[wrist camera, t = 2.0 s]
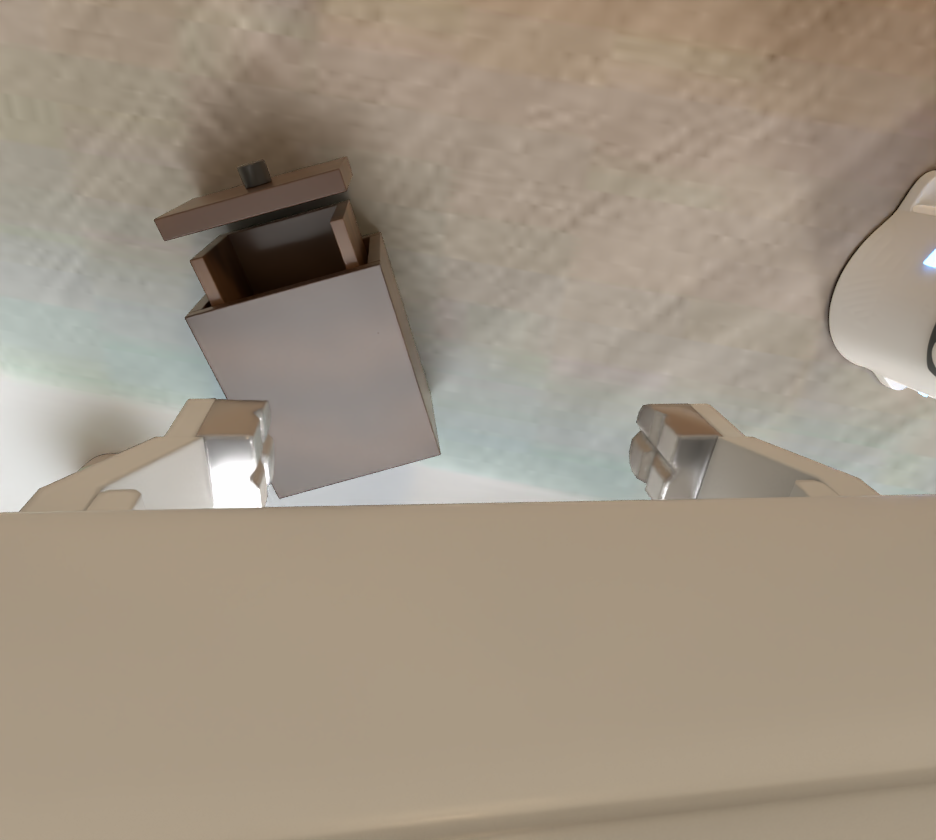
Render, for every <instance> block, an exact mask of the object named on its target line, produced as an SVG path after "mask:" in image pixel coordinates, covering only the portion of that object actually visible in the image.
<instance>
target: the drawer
mask: <svg viewBox="0 0 936 840" xmlns="http://www.w3.org/2000/svg"><path fill="white" fill-rule="evenodd" d="M237 169H238V171H239V174H240V176H241V179H242V181H243V184H244V185H241V186H237V187H234V188H230V189H226V190H223V191H219V192H215V193H212V194H208V195H205V196H201V197H197V198H194V199H191V200H190V201H188V202H186V203H184V204H182V205H180V206H178V207H176V208H175V209H173V210H171V211H169V212H167V213H165V214H163V215H161V216H159V217H158V218H156V219H154V221H155V223H156V225H157V227H158V229H159V231H160V233H161V235H162V237H163V239H164V241H168V240H171V239H175V238H179V237H182V236H186V235H190V234H193V233H197V232H200V231H204V230H208V229H211V228H215V227H219V226H222V225H226V224H229V223H233V222H237V221H240V220H244V219H248V218H251V217H255V216H258V215H262V214H266V213H269V212H273V211H277V210H280V209H284V208H287V207H291V206H295V205H298V204H302V203H306V202H309V201H313V200H317V199H320V198H324V197H327V196H331V195H335V194H338V193H342V192H346V191H347V189H348V186H349V183H350V181H351V178H352V176H353V174H352V171H351V167H350V164H349V161H348V158H347V157H342V158H339V159H335V160H331V161H328V162H324V163H320V164H317V165H313V166H310V167H306V168H302V169H299V170H295V171H291V172H288V173H284V174H281V175H277V176H273V177H270V174H269V172H268V169H267V166H266V164H265V161H264V160H259V161H255V162H252V163H248V164H245V165H242V166H239V167H237ZM190 263H191V265H192V267H193V269H194V271H195V273H196V275H197V277H198V279H199V281H200V283H201V285H202V287H203V289H204V291H205V293H206V295H207V297H208V299H209V301H210V303H211V305H212V307H213V306H216V305H220V304H224V303H227V302H231V301H235V300H238V299H242V298H246V297H249V296H253V295H256V294H260V293H264V292H267V291H271V290H275V289H278V288H282V287H285V286H289V285H293V284H296V283H300V282H304V281H307V280H311V279H315V278H318V277H322V276H325V275H329V274H333V273H336V272H340V271H344V270H347V269H351V268H355V267H358V266H362V265H365V264H368V256H367V252H366V249H365V246H364V243H363V240H362V237H361V234H360V231H359V228H358V225H357V222H356V219H355V216H354V213H353V210H352V207H351V203H350V201H349V200H346V201H342V202H339V203H335V204H331V205H328V206H324V207H321V208H317V209H313V210H310V211H306V212H302V213H299V214H295V215H292V216H288V217H284V218H281V219H277V220H273V221H270V222H266V223H263V224H259V225H255V226H252V227H248V228H244V229H241V230H237V231H234V232H230V233H226V234H223V235H220V236H218V237H217V238H216V239H215V240H214V241H212V242H211V243H210V244H209V245H208V246H207V247H205V248H204V249H203V250H202V251H201V252H199V253H198V254H197V255H196V256H195V257H193V258H192V259H191V260H190Z"/></svg>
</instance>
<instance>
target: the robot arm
mask: <svg viewBox="0 0 936 840" xmlns="http://www.w3.org/2000/svg"><path fill="white" fill-rule="evenodd" d="M829 328H830V334H831V337H832V340H833V343H834V345H835V347H836V348H837V350H838V351H839V352H840V354H841V355H842V356H843V357H845V358H846V359H847V360H848V361H850V362H852V363H854V364H856V365H859V366H862V367H865V368H867V369H870V370H871V371H873V372H874V374H875V375H876V377H877V378H878V379H879V381H880V382H881V383H882V384H883V385H885V386H887V387H889V388H892V389H894V390H902V389H905V388H907V387H909V388H911V389H913V390H916V391H918V392H919V393H920V394H922V395H923V396H925V397H926V396H930V397H932V398H935V399H936V170H934V171H930V172H927V173H926V174H924V175H923V176H922V177H920V178H919V180H918V181H917V182H916V183H915V184H914V185H913V187H912V188H911V190H910V191H909V193H908V194H907V196H906V197H905V199H904V200H903V202H902V203H901V205H900V206H899V208H898V210H897V211H896V212H895V213H894V214H893V215H892V216H891V217H890V218H889V219H888V220H887V221H886V222H885V223H883V224H882V225H881V226H880V227H879V228H878V229H877V230H876V231H874V232H873V233H872V234H871V235H870V236H869V237H868V238H867V239H866V240H865V241H864V243H863V244H862V245H861V246H860V247H859V248H858V250H857V251H856V252H855V254H854V255H853V256H852V258H851V259H850V261H849V262H848V264H847V265H846V267H845V269H844V270H843V272H842V274H841V276H840V278H839V280H838V282H837V285H836V287H835V290H834V293H833V296H832V300H831V305H830V311H829ZM271 422H272V416H271V408H270V404H269V401H268V400H230V399H215V398H211V399H188V400H187V401H186V403H185V405H184V406H183V408H182V409H181V411H180V412H179V414H178V415H177V417H176V419H175V420H174V422H173V423H172V425H171V426H170V428H169V430H168V431H167V433H166V434H165V436H164V437H154V438H152V439H150V440H147V441H145V442H143V443H141V444H138V445H136V446H134V447H132V448H129V449H127V450H125V451H123V452H121V453H118V454H116V455H114V456H112V457H109V458H107V459H105V460H103V461H100V462H98V463H96V464H94V465H91V466H89V467H87V468H85V469H82V470H80V471H78V472H76V473H74V474H71V475H69V476H67V477H65V478H62V479H60V480H58V481H56V482H53V483H51V484H49V485H47V486H44V487H42V488H40V489H39V490H38V491H37V492H36V493H35V494H34V495H33V496H32V498H31V499H30V500H29V501H28V502H27V503H26V504H25V506H24V507H23V508H22V509H21V510H20V511H19V512H1V513H0V840H936V494H922V495H880V494H879V493H877V492H876V491H875V490H873V489H872V488H871V487H870V486H868V485H867V484H866V483H864V482H863V481H862V480H861V479H859V478H857V477H854V476H852V475H849V474H847V473H844V472H842V471H839V470H836V469H834V468H831V467H829V466H826V465H824V464H821V463H818V462H816V461H813V460H811V459H808V458H806V457H803V456H800V455H798V454H795V453H793V452H790V451H788V450H785V449H782V448H780V447H777V446H775V445H772V444H770V443H767V442H764V441H762V440H759V439H757V438H754V437H746V436H745V435H744V434H742V433H741V432H740V431H739V430H738V429H737V428H736V427H735V426H733V425H732V424H731V423H730V422H729V421H728V420H727V419H726V418H724V417H723V416H722V415H721V414H720V413H719V412H718V411H717V410H715V409H714V408H713V407H712V406H711V405H709V404H648V405H643V406H642V408H641V410H640V411H639V414H638V417H637V421H636V423H637V425H638V427H639V429H640V432H639V433H638V434H637V435H636V436H635V437H634V438H633V439H632V441H631V445H630V450H629V461H630V466H631V469H632V472H633V473H634V475H635V476H636V478H637V479H639V480H641V481H643V482H644V483H646V487H645V491H646V492H647V494H648V495H649V497H650V498H651V499H652V500H618V501H566V502H513V503H460V504H407V505H354V506H302V507H265V504H266V501H267V497H268V493H267V485H269V484H270V483H271V482H272V478H273V474H274V464H275V449H274V439H273V438H272V437H271V436H270V435H269V434H268V432H269V429H270V425H271Z"/></svg>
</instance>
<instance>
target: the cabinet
mask: <svg viewBox="0 0 936 840" xmlns="http://www.w3.org/2000/svg"><path fill="white" fill-rule="evenodd" d="M362 240H363V243H364V246H365V249H366V252H367V256H368V264H365V265H362V266H358V267H355V268H351V269H347V270H344V271H340V272H336V273H333V274H329V275H325V276H322V277H318V278H315V279H311V280H307V281H304V282H300V283H296V284H293V285H289V286H285V287H282V288H278V289H275V290H271V291H267V292H264V293H260V294H256V295H253V296H249V297H246V298H242V299H238V300H235V301H231V302H227V303H224V304H220V305H216V306H213V307H212V305H211V303H210V301H209V299H208V297H207V295H206V294H205V295H204V297H203V298H202V299H201V300H200V301H199V302H198V303H197V304H196V305H195V307H194V308H193V309H192V310H191V311H190V312H189V313H188V314H187V316H186V317H185V320H186V321H187V323H188V325H189V327H190V329H191V331H192V333H193V335H194V337H195V339H196V341H197V342H198V344H199V346H200V348H201V350H202V352H203V354H204V356H205V358H206V360H207V362H208V364H209V365H210V367H211V369H212V371H213V373H214V375H215V377H216V379H217V381H218V383H219V385H220V386H221V388H222V390H223V392H224V394H225V396H226V398H227V399H230V400H268V401H269V404H270V408H271V416H272V422H271V425H270V429H269V432H268V434H269V435H270V436H271V437H272V438H273V439H274V449H275V464H274V474H273V478H272V482H271V484H272V486H273V488H274V490H275V492H276V494H277V496H278V497H279V499H281V498H284V497H288V496H292V495H295V494H299V493H302V492H306V491H310V490H313V489H317V488H321V487H324V486H328V485H332V484H335V483H339V482H343V481H346V480H350V479H354V478H357V477H361V476H365V475H368V474H372V473H376V472H379V471H383V470H387V469H390V468H394V467H398V466H401V465H405V464H408V463H412V462H416V461H419V460H423V459H427V458H430V457H434V456H438V455H440V454H441V453H440V446H439V440H438V434H437V428H436V422H435V416H434V410H433V404H432V398H431V393H430V390H429V387H428V383H427V380H426V377H425V374H424V370H423V367H422V364H421V361H420V357H419V354H418V351H417V348H416V344H415V341H414V338H413V335H412V332H411V328H410V325H409V322H408V319H407V315H406V312H405V309H404V306H403V302H402V299H401V296H400V293H399V289H398V286H397V283H396V280H395V276H394V273H393V270H392V267H391V263H390V260H389V257H388V254H387V250H386V247H385V244H384V241H383V237H382V234H381V232H377V233H373V234H370V235H366V236H362Z"/></svg>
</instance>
